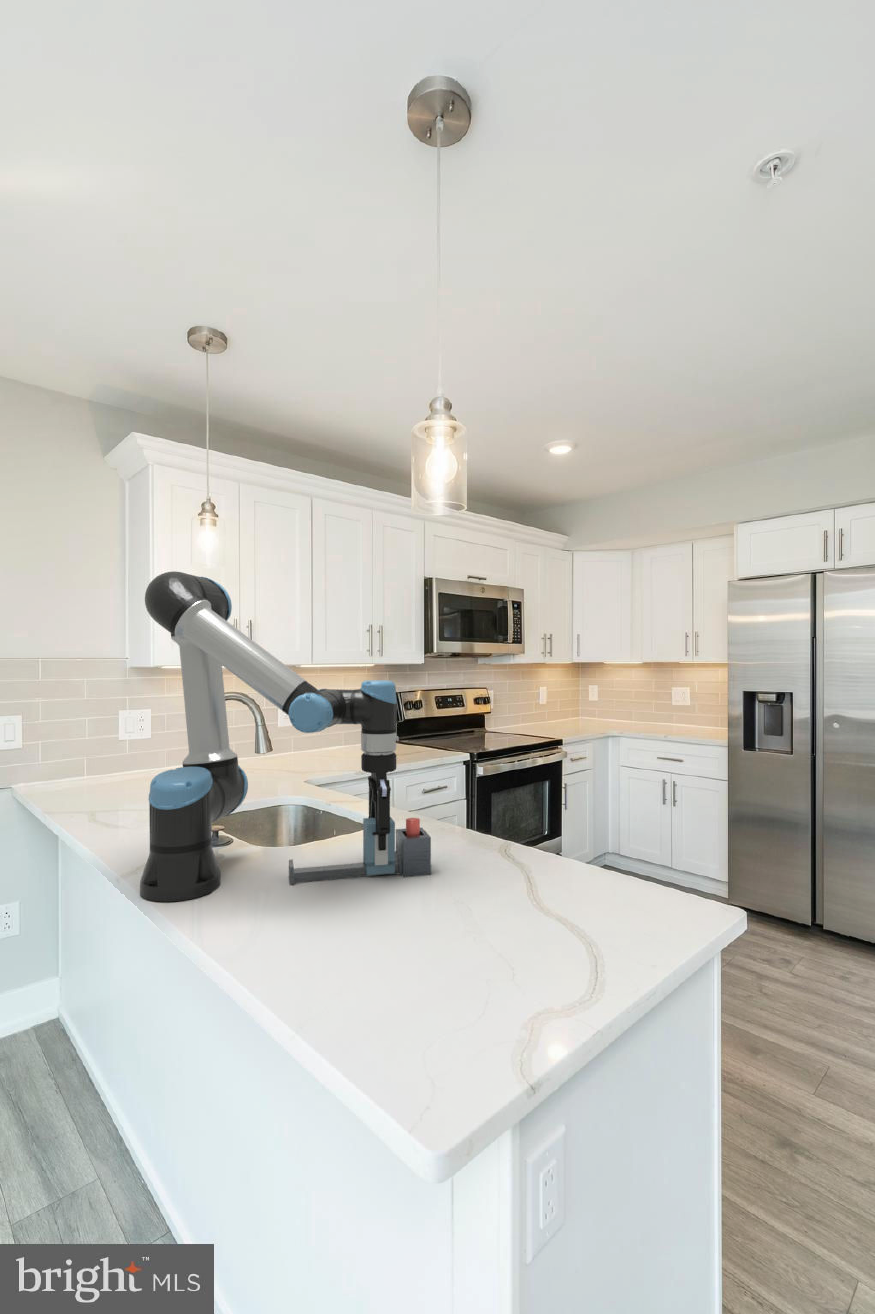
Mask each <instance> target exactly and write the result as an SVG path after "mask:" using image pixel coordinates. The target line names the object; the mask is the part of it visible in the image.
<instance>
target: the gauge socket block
mask: <svg viewBox="0 0 875 1314" xmlns="http://www.w3.org/2000/svg"><path fill="white" fill-rule="evenodd" d="M431 839H432V837H431V836H430V835H429V833H427V831H426V830H425V829H424V828H423V827H421V826H420V836H406V828H395V851H397V852H398V853H399V855H400V856H401V858H402V875H401V876H402V877H403V878H409V877H420V876H430V875H431V874H432V872H431V870H432V869H431V868H432V861H431V860H432V852H431V851H432V848H431V847H432V842H431V841H432V840H431Z"/></svg>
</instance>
